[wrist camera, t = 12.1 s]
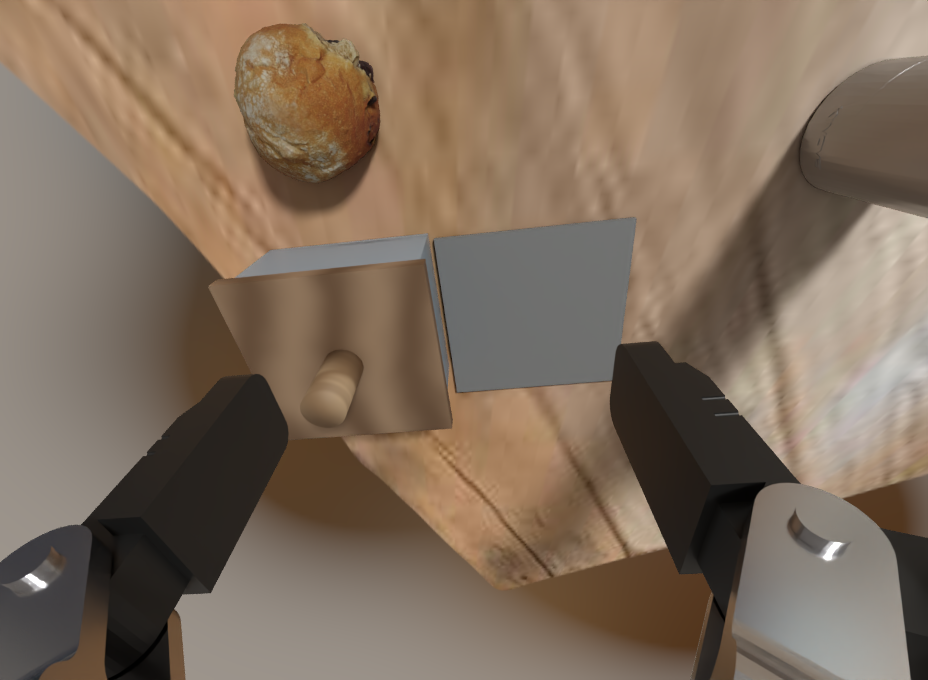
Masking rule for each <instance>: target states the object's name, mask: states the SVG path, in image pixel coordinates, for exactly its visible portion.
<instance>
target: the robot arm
mask: <svg viewBox="0 0 928 680" xmlns="http://www.w3.org/2000/svg"><path fill="white" fill-rule="evenodd" d="M800 165H801V169H802V173H803V174H804V176H805V178H806V179H807V181H808V182H809V183H811V184H812V185H813V186H814V187H816V188H819V189H821V190H824V191H827V192H831V193H835V194H839V195H842V196H846V197H850V198H854V199H858V200H861V201H864V202H868V203H872V204H875V205H879V206H883V207H887V208H891V209H894V210H898V211H902V212H906V213H910V214H913V215H917V216H921V217H925V218H928V56H919V57H908V58H898V59H889V60H884V61H881V62H878V63H875V64H872V65H869V66H868V67H866V68H864V69H862V70H860V71H858V72H856V73H855V74H853V75H852V76H851V77H849V78H848V79H846V80H845V81H844V82H842V83H841V84H840V85H839V86H838V87H837V88H836V89H835V90H834V91H833V92H832V93H830V94H829V95H828V97H827V98H826V99H825V100H824V101H823V103H822V104H821V105H820V106H819V108H818V109H817V110H816V112H815V114H814V115H813V117H812V119H811V120H810V122H809V124H808V126H807V129H806V131H805V134H804V136H803V139H802V144H801V148H800ZM610 411H611V417H612V421H613V424H614V427H615V429H616V432H617V434H618V436H619V438H620V441H621V443H622V445H623V447H624V450H625V452H626V454H627V457H628V459H629V461H630V463H631V466H632V468H633V470H634V472H635V475H636V477H637V479H638V481H639V484H640V486H641V488H642V491H643V493H644V495H645V497H646V500H647V502H648V504H649V506H650V509H651V511H652V513H653V515H654V518H655V520H656V522H657V525H658V527H659V529H660V531H661V534H662V536H663V538H664V540H665V543H666V545H667V547H668V549H669V552H670V554H671V556H672V559H673V561H674V563H675V565H676V568H677V570H678V572H679V574H697V573H703V575H704V577H705V578H706V580H707V583H708V584H709V587H710V589H711V590H712V593H711V596H710V598H709V602H708V606H707V611H706V615H705V619H704V623H703V628H702V632H701V636H700V640H699V645H698V649H697V653H696V658H695V662H694V666H693V671H692V675H691V680H928V538H925V537H920V536H915V535H910V534H905V533H901V532H896V531H891V530H886V529H882V528H879V527H878V526H877V525H876V524H875V523H874V522H873V521H872V520H871V519H870V518H869V517H868V516H866V515H865V514H864V513H862V512H861V511H860V510H858V509H857V508H856V507H854V506H853V505H851V504H850V503H848V502H846V501H845V500H843V499H841V498H839V497H837V496H835V495H833V494H831V493H828V492H826V491H823V490H821V489H818V488H815V487H811V486H807V485H803V484H801V483H800V482H799V481H798V480H797V479H796V478H795V477H794V476H793V474H792V473H791V472H790V471H789V470H788V469H787V467H786V466H785V465H784V464H783V463H782V462H781V460H780V459H779V458H778V457H777V456H776V455H775V453H774V452H773V451H772V450H771V449H770V448H769V446H768V445H767V444H766V443H765V442H764V441H763V439H762V438H761V437H760V436H759V435H758V434H757V432H756V431H755V430H754V429H753V428H752V427H751V425H750V424H749V423H748V422H747V421H746V420H745V418H744V417H743V416H742V415H741V416H739V414H738V410H737V409H736V408H735V407H734V406H733V404H732V403H731V402H730V401H729V400H728V399H725V395H724V394H723V393H722V392H721V390H720V389H719V388H718V387H717V386H716V385H715V383H714V382H713V381H712V380H711V379H710V378H709V377H708V376H707V375H705V374H703V373H702V372H700V371H699V370H697V369H695V368H694V367H692V366H690V365H689V364H687V363H686V362H685V363H674V361H673V360H672V359H671V358H670V356H669V355H668V354H667V352H666V351H665V350H664V349H663V347H662V346H661V345H660V344H659V343H658V342H656V341H652V342H640V343H629V344H619V345H618V346H617V349H616V353H615V360H614V369H613V377H612V386H611V394H610ZM288 436H289V432H288V425H287V422H286V420H285V417H284V415H283V413H282V411H281V409H280V407H279V405H278V403H277V401H276V399H275V397H274V395H273V393H272V390H271V388H270V386H269V384H268V382H267V380H266V379H265V378H264V377H263V376H262V375H260V374H250V375H237V376H226V377H223V378H221V379H220V380H219V381H218V382H217V383H216V384H215V385H214V386H213V387H212V389H211V390H210V391H209V392H208V393H207V394H206V395H205V397H204V398H203V399H202V400H201V401H200V402H199V403H197V404H196V405H195V406H193V407H192V408H190V409H189V410H188V411H186V412H185V413H183V414H182V415H181V416H179V417H178V418H177V419H176V421H175V422H174V423H173V424H172V425H171V426H170V427H169V428H168V430H166V432H165V433H164V434H163V435H162V439H161V440H158V441H157V442H156V443H155V444H154V445H153V446H152V447H151V448H150V449H149V450H148V452H147V456H143V457H142V458H141V459H140V460H139V462H138V463H137V464H136V465H135V466H134V467H133V468H132V469H131V470H130V472H129V473H128V474H127V475H126V476H125V477H124V478H123V479H122V480H121V481H120V482H119V484H118V485H117V486H116V487H115V488H114V489H113V490H112V491H111V492H110V493H109V495H108V496H107V497H106V498H105V499H104V500H103V501H102V502H101V503H100V505H99V506H98V507H97V508H96V509H95V510H94V511H93V512H92V513H91V515H90V516H89V517H88V518H87V519H86V520H85V521H84V522H83V523H82V524H81V525H69V526H65V527H60V528H57V529H55V530H52V531H49V532H47V533H45V534H42V535H41V536H39V537H37V538H35V539H33V540H31V541H29V542H28V543H26V544H24V545H23V546H21V547H20V548H18V549H17V550H16V551H14V552H13V553H11V554H10V555H9V556H8V557H6V558H5V559H4V560H2V561H1V562H0V680H185V668H184V655H183V642H182V630H181V620H180V616H179V614H178V612H177V611H176V610H175V609H174V608H175V606H176V605H177V603H178V601H179V599H180V597H181V596H182V594H203V593H211V592H212V590H213V588H214V585H215V584H216V582H217V580H218V578H219V576H220V574H221V572H222V570H223V568H224V566H225V565H226V562H227V561H228V559H229V557H230V555H231V553H232V551H233V549H234V547H235V545H236V543H237V541H238V540H239V537H240V536H241V534H242V532H243V530H244V528H245V526H246V524H247V522H248V520H249V518H250V516H251V514H252V512H253V511H254V508H255V507H256V505H257V503H258V501H259V499H260V497H261V495H262V493H263V491H264V489H265V487H266V486H267V484H268V482H269V480H270V478H271V476H272V474H273V472H274V470H275V468H276V466H277V464H278V462H279V461H280V458H281V457H282V455H283V453H284V451H285V449H286V446H287V443H288Z"/></svg>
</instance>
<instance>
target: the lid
mask: <svg viewBox="0 0 928 680" xmlns="http://www.w3.org/2000/svg"><path fill="white" fill-rule="evenodd" d="M208 287H209V289H210V291H211V293H212V295H213V297H214V299H215V301H216V303H217V305H218V307H219V309H220V311H221V313H222V315H223V317H224V319H225V321H226V323H227V325H228V327H229V329H230V331H231V333H232V335H233V337H234V339H235V341H236V343H237V345H238V347H239V349H240V351H241V353H242V355H243V357H244V359H245V361H246V363H247V365H248V367H249V369H250V371H251V373H252V374H260V375H262V376H263V377H264V378H265V379H266V380H267V382H268V384H269V386H270V388H271V390H272V393H273V395H274V397H275V399H276V401H277V403H278V405H279V407H280V409H281V411H282V413H283V415H284V417H285V420H286V422H287V425H288V432H289V436H288V440H298V439H311V438H325V437H340V436H353V435H367V434H381V433H395V432H409V431H423V430H437V429H451V428H452V421H453V419H452V413H451V407H450V401H449V395H448V389H447V383H446V377H445V372H444V366H443V360H442V354H441V348H440V342H439V336H438V330H437V324H436V318H435V312H434V306H433V301H432V295H431V289H430V283H429V277H428V271H427V265H426V259H417V260H407V261H397V262H387V263H378V264H368V265H358V266H348V267H338V268H328V269H319V270H309V271H299V272H289V273H279V274H269V275H260V276H250V277H240V278H230V279H220V280H216V281H215V282H214V283H212V284H211V285H210V286H208Z"/></svg>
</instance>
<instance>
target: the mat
mask: <svg viewBox="0 0 928 680" xmlns="http://www.w3.org/2000/svg"><path fill="white" fill-rule="evenodd" d="M635 227H636V218H635V217H632V218H622V219H613V220H603V221H594V222H584V223H575V224H565V225H556V226H546V227H537V228H527V229H518V230H508V231H499V232H489V233H480V234H470V235H461V236H451V237H442V238H434V245H435V251H436V258H437V264H438V271H439V277H440V284H441V290H442V297H443V303H444V310H445V316H446V323H447V329H448V336H449V343H450V349H451V356H452V362H453V369H454V375H455V382H456V388H457V392H470V391H483V390H496V389H509V388H521V387H534V386H547V385H560V384H572V383H585V382H598V381H611V380H612V377H613V369H614V360H615V353H616V349H617V346H618V345H619V344H621V338H622V330H623V322H624V314H625V306H626V298H627V290H628V283H629V275H630V267H631V259H632V251H633V243H634V235H635Z"/></svg>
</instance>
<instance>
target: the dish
mask: <svg viewBox="0 0 928 680" xmlns="http://www.w3.org/2000/svg"><path fill="white" fill-rule="evenodd" d="M417 259H426V265H427V271H428V277H429V283H430V289H431V295H432V301H433V306H434V312H435V318H436V324H437V330H438V336H439V342H440V348H441V354H442V360H443V366H444V372H445V377H446V383H447V389H448V375H449V362H448V356H447V349H446V343H445V337H444V331H443V324H442V318H441V312H440V306H439V299H438V293H437V287H436V281H435V274H434V268H433V262H432V256H431V249H430V243H429V237H428V234H418V235H409V236H400V237H390V238H381V239H371V240H362V241H353V242H343V243H334V244H324V245H315V246H305V247H296V248H287V249H277V250H270V251H269V252H267V253H266V254H265V255H263V256H262V257H261V258H260V259H258V260H257V261H256V262H254V263H253V264H252V265H251V266H249V267H248V268H247V269H245V270H244V271H243V272H242V273H240V274H239V275H238V276H236V277H235V278H240V277H250V276H260V275H269V274H279V273H289V272H299V271H309V270H319V269H328V268H338V267H348V266H358V265H368V264H378V263H387V262H397V261H407V260H417Z"/></svg>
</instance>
